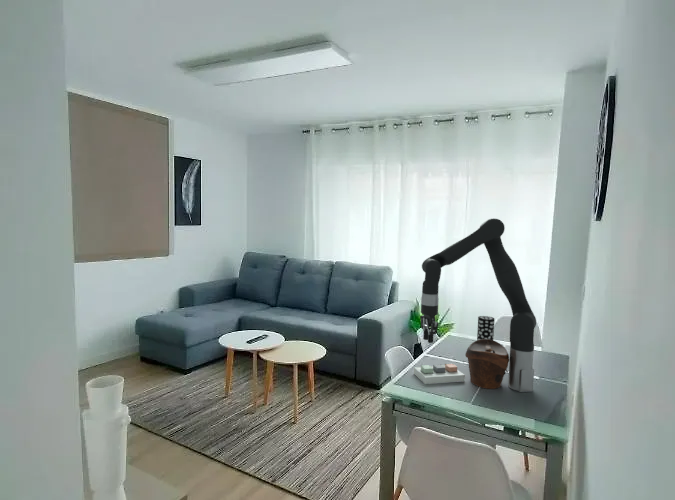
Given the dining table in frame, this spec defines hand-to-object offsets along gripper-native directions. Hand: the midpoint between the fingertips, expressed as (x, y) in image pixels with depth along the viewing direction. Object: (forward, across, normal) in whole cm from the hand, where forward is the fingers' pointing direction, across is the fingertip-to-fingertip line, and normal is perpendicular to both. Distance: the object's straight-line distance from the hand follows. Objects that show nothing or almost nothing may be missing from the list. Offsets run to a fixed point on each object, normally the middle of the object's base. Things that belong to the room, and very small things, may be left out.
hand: (428, 340), depth 176 cm
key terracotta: (+14, 0, -12) cm, 18 cm away
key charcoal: (+14, 0, -6) cm, 15 cm away
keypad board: (+17, 0, -6) cm, 18 cm away
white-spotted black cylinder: (+17, +27, -47) cm, 57 cm away
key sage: (+14, 0, 0) cm, 14 cm away
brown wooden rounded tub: (+17, -10, -24) cm, 31 cm away
